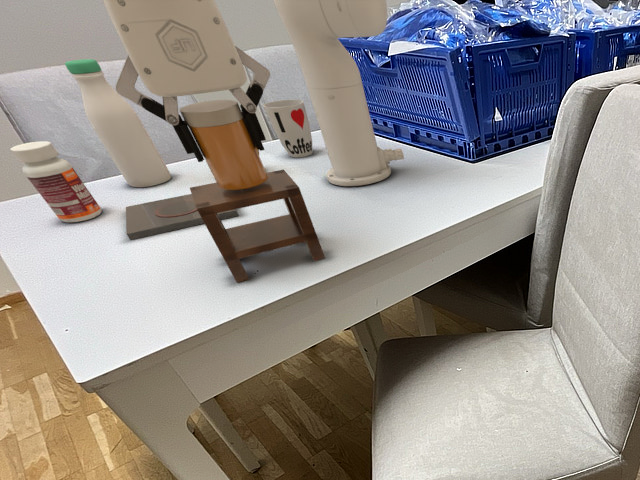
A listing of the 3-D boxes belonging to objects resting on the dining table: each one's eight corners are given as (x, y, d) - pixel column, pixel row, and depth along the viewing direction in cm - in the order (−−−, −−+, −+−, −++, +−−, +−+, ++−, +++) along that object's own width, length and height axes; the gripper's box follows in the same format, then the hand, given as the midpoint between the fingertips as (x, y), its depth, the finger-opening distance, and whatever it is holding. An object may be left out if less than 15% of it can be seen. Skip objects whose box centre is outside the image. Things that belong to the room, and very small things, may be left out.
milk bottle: (180, 179, 92) (114, 58, 78) (140, 190, 88) (63, 65, 74) (161, 173, 95) (94, 56, 81) (122, 184, 91) (44, 62, 77)
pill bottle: (102, 218, 78) (52, 146, 70) (59, 226, 76) (2, 153, 68) (104, 207, 82) (56, 137, 74) (62, 215, 79) (9, 144, 71)
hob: (227, 192, 86) (224, 186, 85) (238, 215, 77) (235, 209, 77) (129, 212, 80) (125, 206, 79) (130, 240, 71) (125, 233, 70)
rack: (309, 236, 71) (283, 169, 64) (325, 258, 65) (299, 186, 58) (227, 258, 66) (189, 187, 59) (236, 283, 60) (196, 208, 54)
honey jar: (263, 170, 62) (233, 97, 55) (273, 182, 58) (241, 106, 52) (214, 179, 59) (176, 105, 53) (221, 194, 55) (181, 115, 49)
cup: (284, 161, 99) (264, 109, 92) (281, 152, 104) (261, 102, 97) (322, 155, 102) (305, 104, 95) (316, 147, 107) (300, 97, 100)
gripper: (20, -47, 38) (153, 176, 51) (239, -51, 44) (308, 147, 57) (30, -45, 42) (150, 159, 55) (228, -50, 49) (294, 134, 62)
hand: (230, 151), depth 56 cm, fingers closed on honey jar, 6 cm apart
